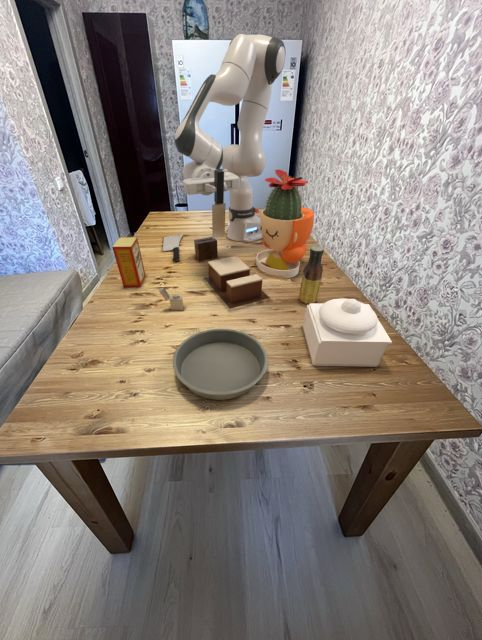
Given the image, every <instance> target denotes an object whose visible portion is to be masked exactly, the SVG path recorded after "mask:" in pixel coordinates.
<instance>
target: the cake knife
mask: <svg viewBox="0 0 482 640" xmlns="http://www.w3.org/2000/svg"><path fill="white" fill-rule="evenodd" d="M221 169H222V168H220V170H214V186H216V187H217V192H215V193H213V195H214V197H213V198H214V201H213V202H214V204H212V205H211V225H212V226H211V229H212V230H211V232H212V233H211V234H212V235H211V237H212V238H213V239H214V238H215V239H218V238H219V239H220V238H224V237H225V236H226V209H227V208H226V207H227V206H226V202H224V200H225V199H224V198H225V196H224V195H225V191H224V171H222V170H221Z"/></svg>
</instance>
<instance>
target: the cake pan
mask: <svg viewBox="0 0 482 640" xmlns="http://www.w3.org/2000/svg"><path fill="white" fill-rule="evenodd" d="M268 367H269V357H268V352H267V351H266V349H265V347H264V346H263V344H262V343H261V342H260V341H259V340H258V339H257V338H255V337H254V336H252V335H250V334H248V333H246V332H244V331H241V330H238V329H232V328H211V329H206V330H203V331H199V332H197V333H194V334H192V335H190V336H188V337H187V338H186V339H184V340H183V341H182V342H180V344H179V345H178V346H177V347H176V349H175V351H174V354H173V357H172V369H173V373H174V374H175V377H176V378H177V379H178V381H180V382H181V383H182V384H183V385H184V386H185V387H186V388H187V389H188V390H189V391H191V392H192V393H193V394H195V395H197V396H199V397H202V398H204V399H207V400H215V401H216V400H217V401H222V400H223V401H225V400H231V399H235V398H237V397H241V396H242V395H244V394H247V393H248V392H249V391H250V390H252V389H253V388H254V386H255V385H256V384H257V383H258V382H260V380H262V378H263V377H264V376H265V374H266V372H267V370H268Z"/></svg>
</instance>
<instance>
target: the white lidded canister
mask: <svg viewBox="0 0 482 640" xmlns="http://www.w3.org/2000/svg"><path fill="white" fill-rule="evenodd" d="M302 329H303V334H304V336H305V341H306V345H307V348H308V353H309V357H310V360H311V363H312V366H318V367H319V366H321V367H322V366H323V367H325V366H327V367H370V368H371V367H372V368H373V367H375V368H377V367H379V365H380V363H381V361H382V359H383V356H384V354H385V352H386V350H387V349H388V346H389V345H392V343H393V340H392V339H391V338H390V336H389V335H388V333H387V331H386V329H385V328H384V326H383V325H382V323H381V322H380V319H379V318H378V316H377V313H376V312H375V311H374V310H373V308H372V307H371V305H370V304H369V303H363V302H362V301H359V300H357V299H356V298H343V297H341V298H332V299H329V300H327V301H325V302H323V303H317V302H316V303H310V304H309V305H308V304H306V308H305V312H304V317H303V323H302Z"/></svg>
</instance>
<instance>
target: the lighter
mask: <svg viewBox="0 0 482 640" xmlns="http://www.w3.org/2000/svg"><path fill="white" fill-rule="evenodd" d="M158 292H159V293H160V295H161V297H162V298H163V299H164V300H165V301H168V300H169V305H170V310H171V311H183V310H184V309H185V307H184V299H183V296H180V295H179V294H172V296H170V294H169V293H168V291H167V290H166V289H165V287H160V288H159V289H158Z"/></svg>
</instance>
